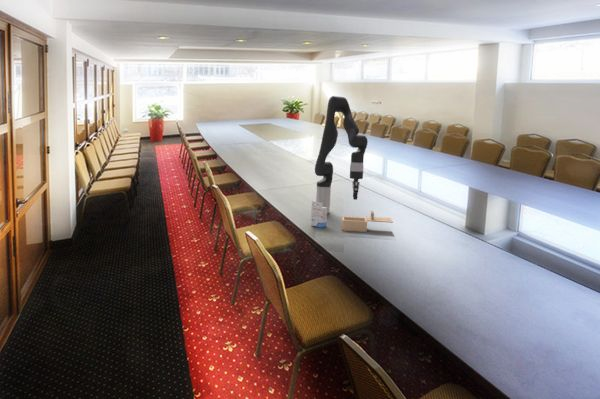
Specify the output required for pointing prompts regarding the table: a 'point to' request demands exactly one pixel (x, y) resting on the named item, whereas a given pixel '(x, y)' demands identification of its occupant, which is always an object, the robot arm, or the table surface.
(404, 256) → the table surface
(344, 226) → the open wooden box
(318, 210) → the ink box
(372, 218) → the lid
